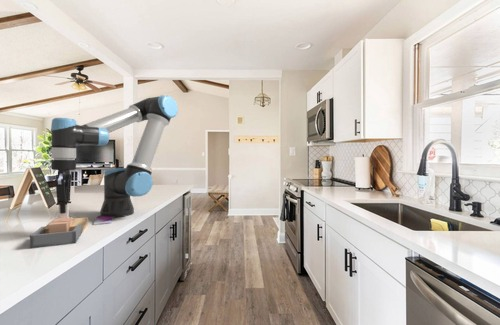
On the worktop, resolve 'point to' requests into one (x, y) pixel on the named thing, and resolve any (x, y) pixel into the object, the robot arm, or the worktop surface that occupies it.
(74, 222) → the board
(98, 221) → the smartphone
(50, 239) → the tray
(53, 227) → the tile
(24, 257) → the worktop surface
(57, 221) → the tile
